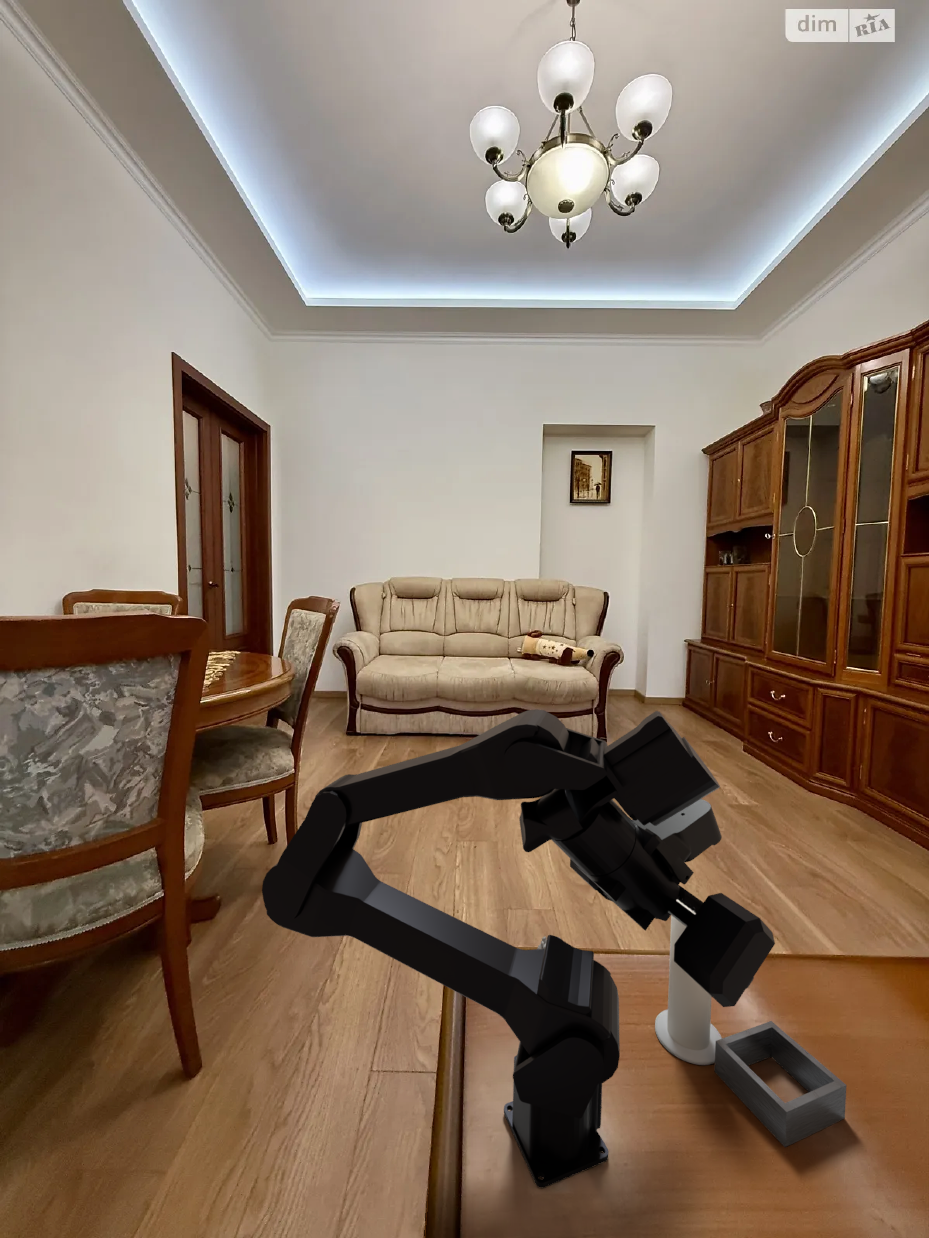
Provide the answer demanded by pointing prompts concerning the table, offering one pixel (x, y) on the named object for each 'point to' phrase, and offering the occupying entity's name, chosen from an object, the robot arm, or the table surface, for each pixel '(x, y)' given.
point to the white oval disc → (681, 1052)
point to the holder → (777, 1116)
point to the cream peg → (686, 1001)
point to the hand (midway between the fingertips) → (704, 945)
